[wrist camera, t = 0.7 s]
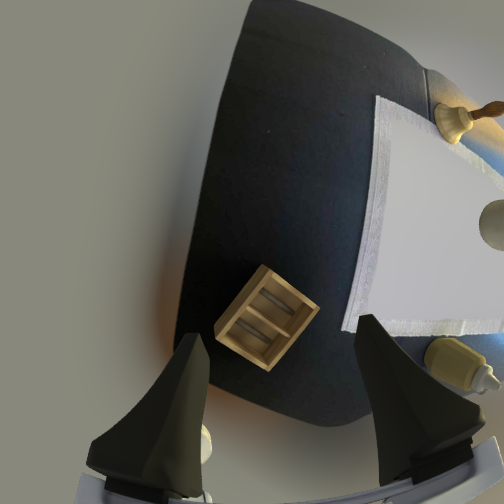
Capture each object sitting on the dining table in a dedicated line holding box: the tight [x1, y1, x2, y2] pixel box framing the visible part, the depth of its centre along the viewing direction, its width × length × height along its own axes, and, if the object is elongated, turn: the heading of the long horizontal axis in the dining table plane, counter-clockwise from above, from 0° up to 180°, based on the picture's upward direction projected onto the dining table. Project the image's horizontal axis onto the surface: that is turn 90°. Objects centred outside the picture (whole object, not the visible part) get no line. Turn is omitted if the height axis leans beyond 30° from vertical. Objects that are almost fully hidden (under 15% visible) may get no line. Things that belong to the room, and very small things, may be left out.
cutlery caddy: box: [214, 264, 320, 372], centre depth 34 cm, size 8×10×4 cm
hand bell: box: [434, 101, 504, 144], centre depth 31 cm, size 8×8×16 cm
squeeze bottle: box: [424, 338, 502, 392], centre depth 34 cm, size 8×8×18 cm
